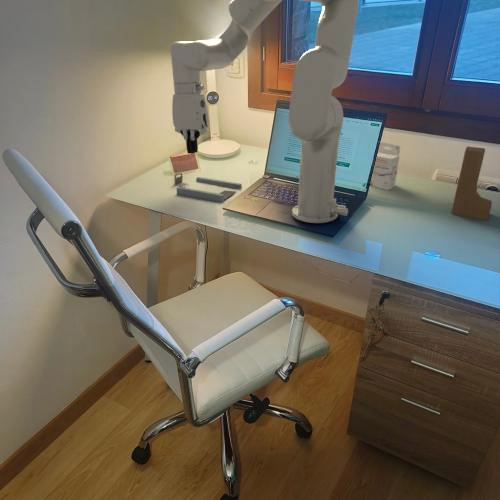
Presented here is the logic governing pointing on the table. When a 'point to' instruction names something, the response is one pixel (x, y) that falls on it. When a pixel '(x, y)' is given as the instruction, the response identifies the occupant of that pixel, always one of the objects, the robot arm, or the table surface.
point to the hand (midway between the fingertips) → (192, 152)
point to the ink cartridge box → (385, 166)
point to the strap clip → (179, 180)
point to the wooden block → (471, 187)
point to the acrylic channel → (210, 195)
